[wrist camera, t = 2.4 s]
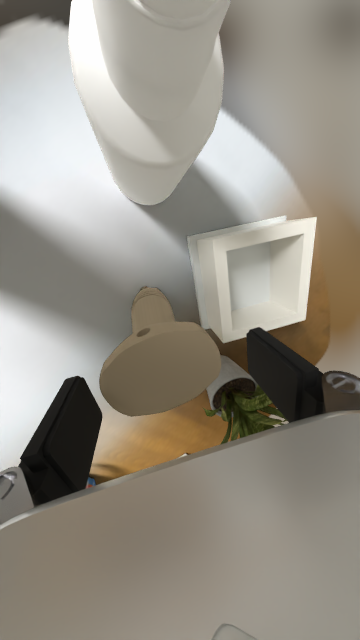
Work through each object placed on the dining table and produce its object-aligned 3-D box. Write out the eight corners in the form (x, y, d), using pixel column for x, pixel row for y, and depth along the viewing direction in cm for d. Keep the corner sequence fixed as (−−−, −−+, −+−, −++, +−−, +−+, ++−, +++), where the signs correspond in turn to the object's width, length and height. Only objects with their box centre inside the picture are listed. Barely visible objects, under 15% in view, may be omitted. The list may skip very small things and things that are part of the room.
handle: (115, 290, 22) (79, 368, 9) (165, 269, 22) (205, 312, 9) (134, 323, 24) (129, 428, 11) (179, 304, 24) (229, 382, 11)
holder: (186, 236, 21) (202, 234, 16) (280, 216, 23) (324, 208, 17) (201, 327, 26) (217, 349, 21) (277, 306, 28) (310, 322, 22)
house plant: (271, 378, 34) (375, 485, 19) (205, 416, 34) (256, 551, 19) (246, 317, 27) (372, 405, 13) (166, 364, 28) (197, 504, 13)
